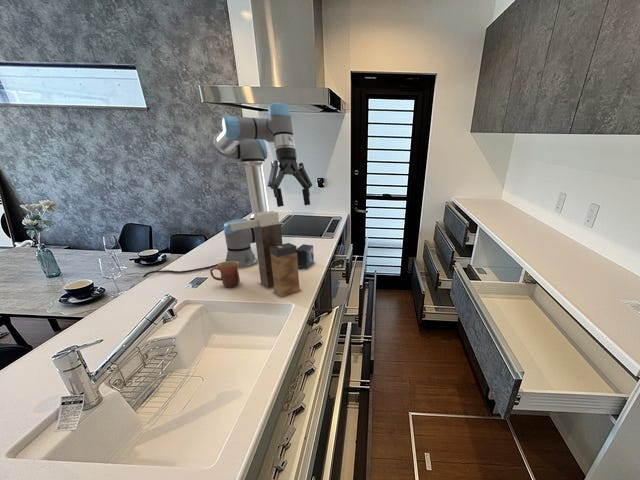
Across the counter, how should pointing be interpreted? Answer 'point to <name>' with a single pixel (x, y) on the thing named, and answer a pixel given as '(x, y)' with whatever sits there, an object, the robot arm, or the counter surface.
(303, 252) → the small box
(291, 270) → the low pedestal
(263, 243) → the tall pedestal
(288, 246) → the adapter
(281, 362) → the counter surface
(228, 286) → the mug
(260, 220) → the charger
